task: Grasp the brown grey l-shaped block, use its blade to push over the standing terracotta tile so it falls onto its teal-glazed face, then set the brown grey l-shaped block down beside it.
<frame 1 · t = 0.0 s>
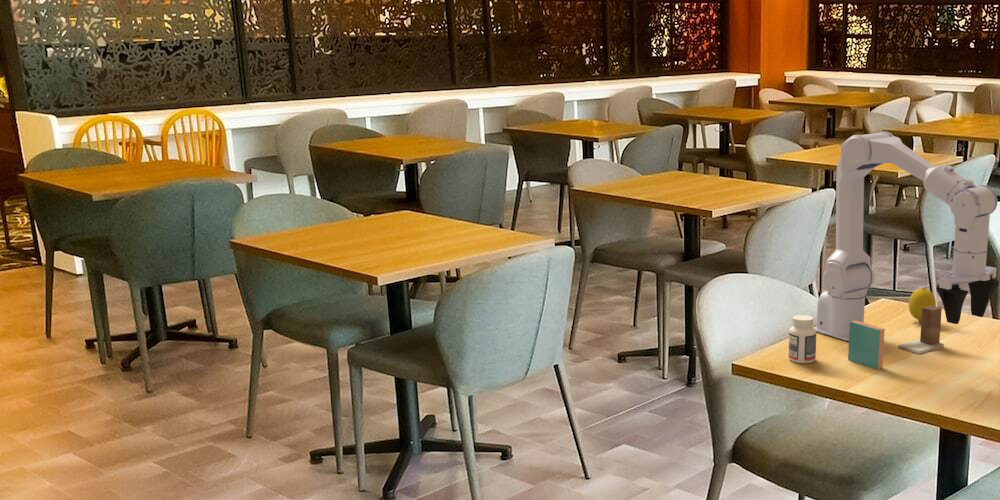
hand: (965, 319, 198), 10 cm above the table, tool pointing down, fingers open, 7 cm apart
tile: (865, 363, 205), on the table
lemon: (920, 323, 230), on the table
brown grey l-shaped block: (929, 344, 215), on the table
pill bottle: (801, 360, 208), on the table
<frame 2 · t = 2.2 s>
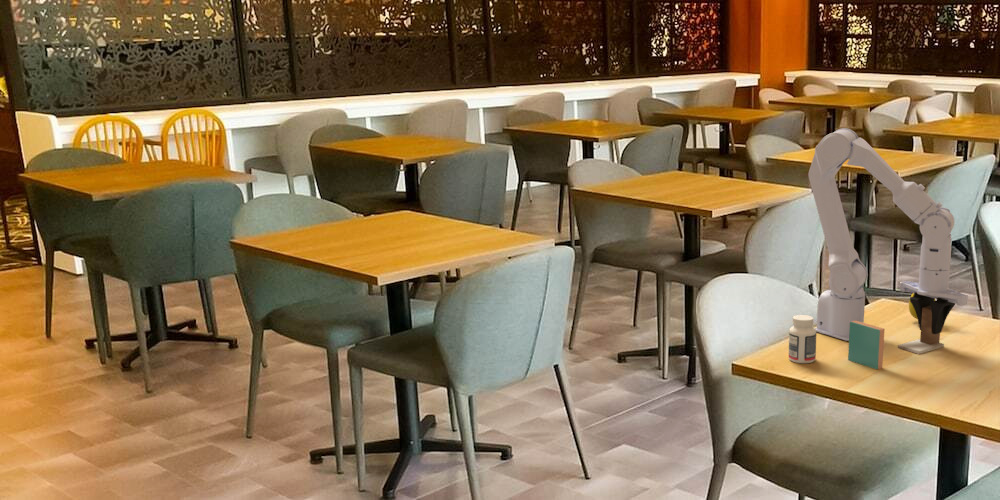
hand: (930, 331, 214), 3 cm above the table, tool pointing down, fingers closed on brown grey l-shaped block, 2 cm apart
brown grey l-shaped block: (929, 344, 215), on the table, touching gripper
everything else where it was.
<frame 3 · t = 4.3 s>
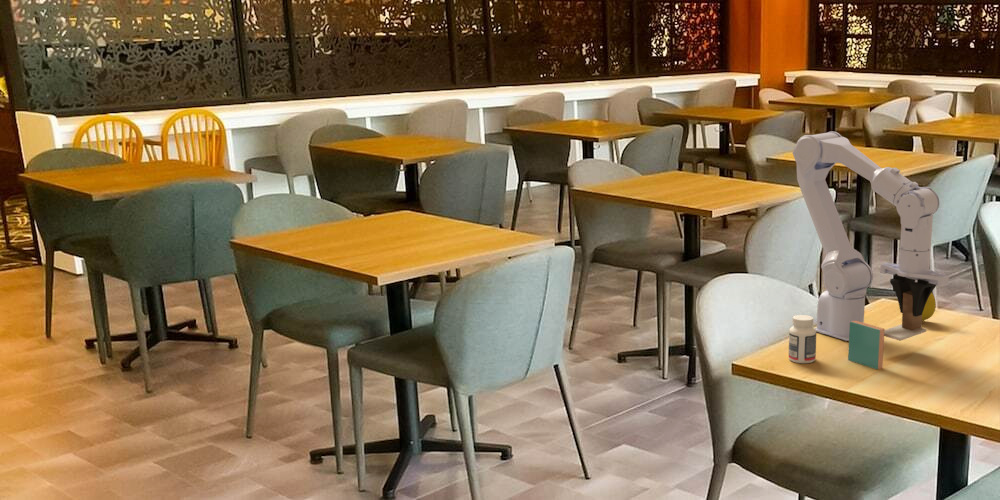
hand: (911, 313, 210), 8 cm above the table, tool pointing down, fingers closed on brown grey l-shaped block, 2 cm apart
brown grey l-shaped block: (911, 330, 211), point 4 cm above the table, touching gripper
everything else where it was.
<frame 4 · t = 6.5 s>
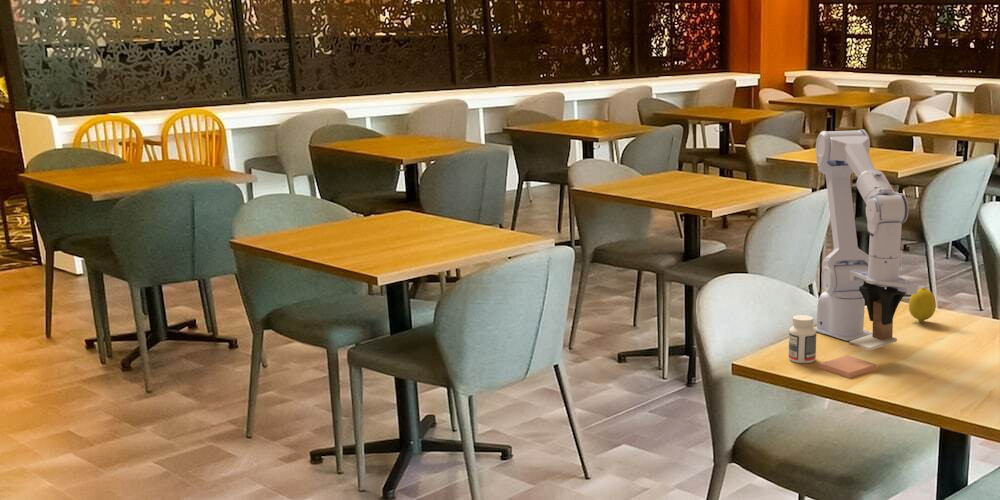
hand: (880, 321, 205), 8 cm above the table, tool pointing down, fingers closed on brown grey l-shaped block, 2 cm apart
tile: (861, 363, 204), on the table, tilted 90°
brown grey l-shaped block: (882, 339, 206), point 4 cm above the table, touching gripper
everything else where it was.
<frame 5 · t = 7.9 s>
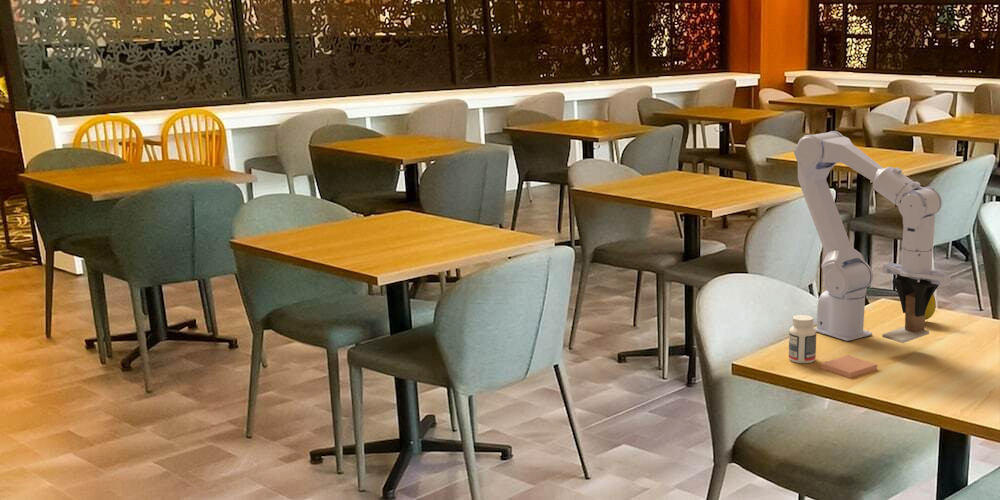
hand: (913, 313, 210), 8 cm above the table, tool pointing down, fingers closed on brown grey l-shaped block, 2 cm apart
brown grey l-shaped block: (914, 332, 211), point 4 cm above the table, touching gripper
everything else where it was.
when the fingers open (4 cm above the table, at t = 9.1 s): brown grey l-shaped block stays where it is, on the table.
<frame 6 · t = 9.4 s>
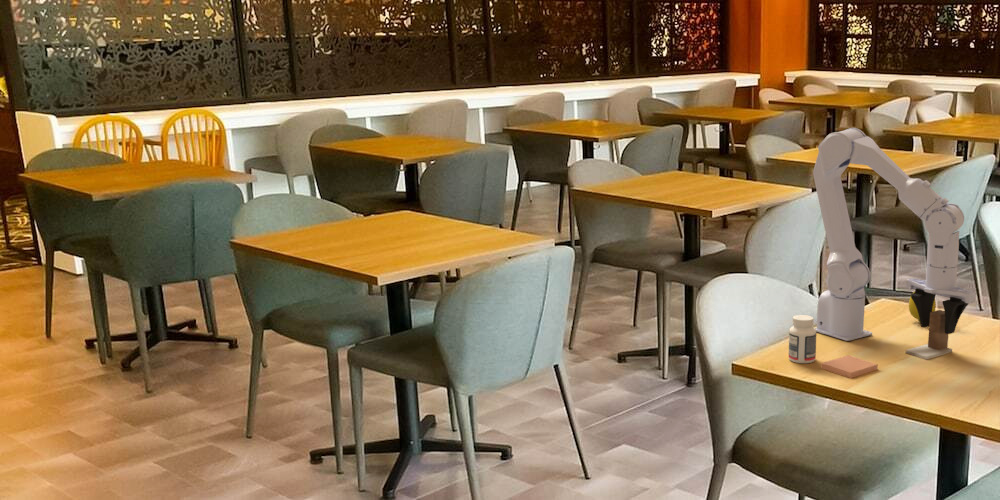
hand: (937, 329, 210), 4 cm above the table, tool pointing down, fingers open, 5 cm apart
brown grey l-shaped block: (937, 349, 212), on the table
everything else where it was.
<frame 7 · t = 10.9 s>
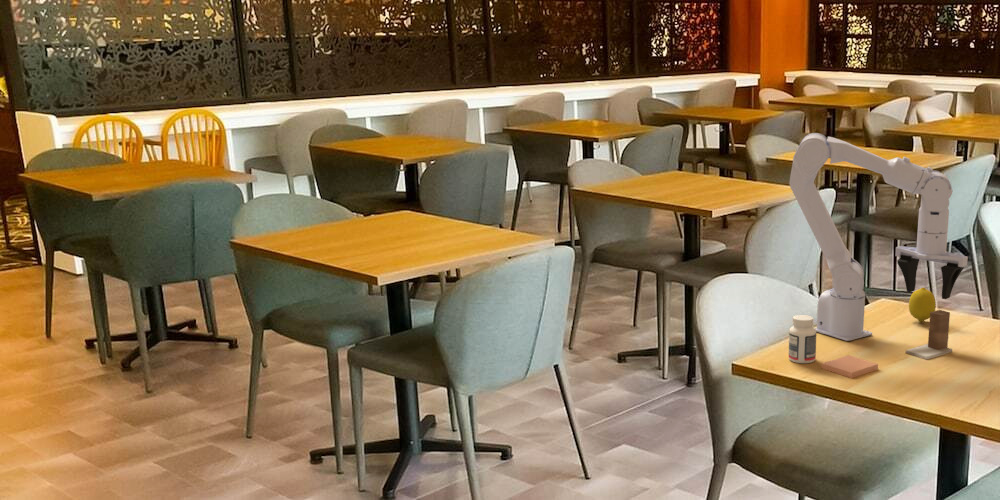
hand: (928, 294, 216), 10 cm above the table, tool pointing down, fingers open, 7 cm apart
nothing on the table moved.
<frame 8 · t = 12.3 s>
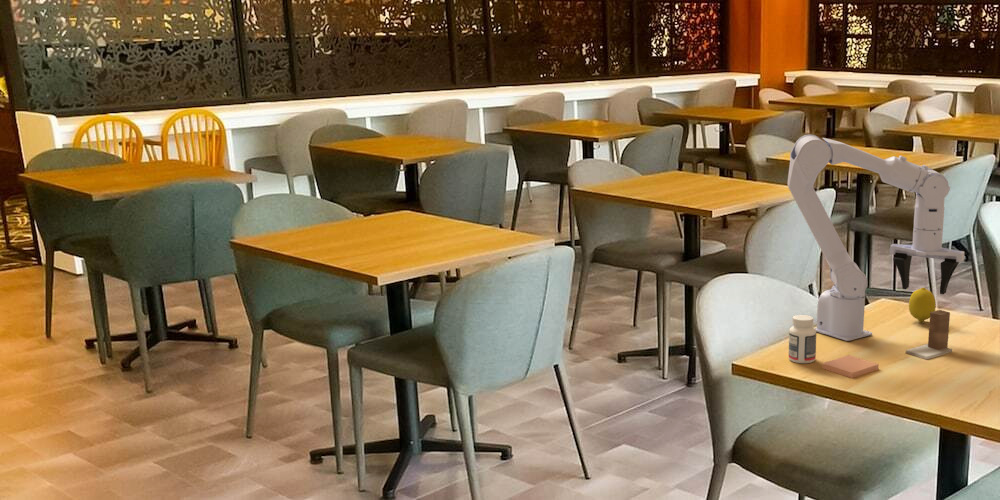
hand: (924, 290, 219), 10 cm above the table, tool pointing down, fingers open, 7 cm apart
nothing on the table moved.
at the end: tile tilted 90°; tile 2.6 cm from the target spot, on the table; the gripper is holding nothing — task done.
